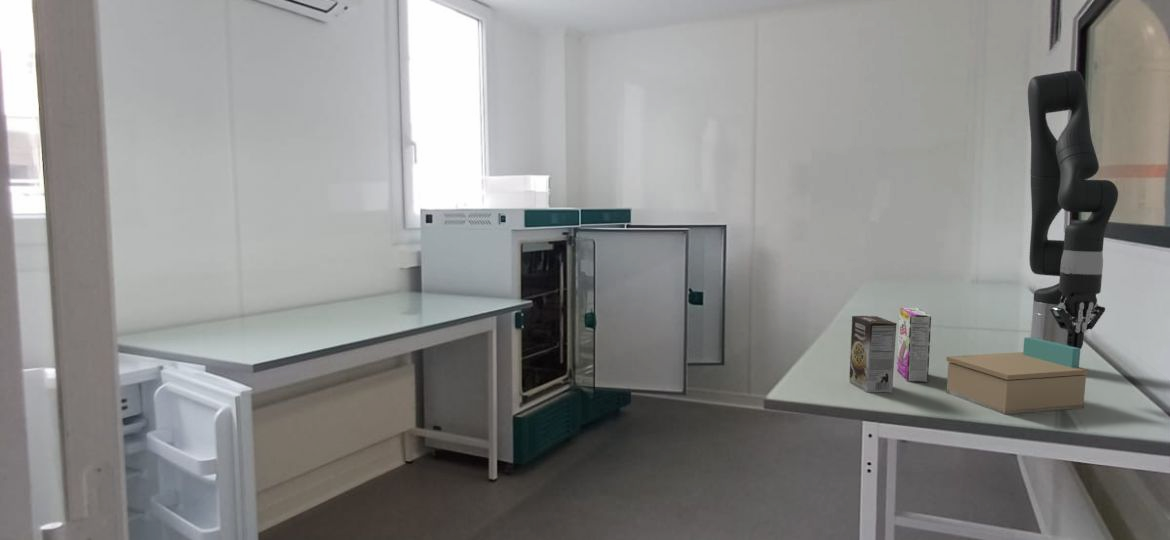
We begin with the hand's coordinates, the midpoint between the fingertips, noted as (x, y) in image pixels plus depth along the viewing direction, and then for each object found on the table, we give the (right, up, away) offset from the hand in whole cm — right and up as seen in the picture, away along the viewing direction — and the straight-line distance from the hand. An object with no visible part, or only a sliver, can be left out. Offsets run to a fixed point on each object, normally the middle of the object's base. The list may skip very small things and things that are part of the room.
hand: (1074, 348), depth 152 cm
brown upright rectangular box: (-42, -10, +7) cm, 44 cm away
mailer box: (-15, -11, -3) cm, 19 cm away
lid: (-15, -4, -3) cm, 16 cm away
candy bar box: (-28, -9, +17) cm, 34 cm away
